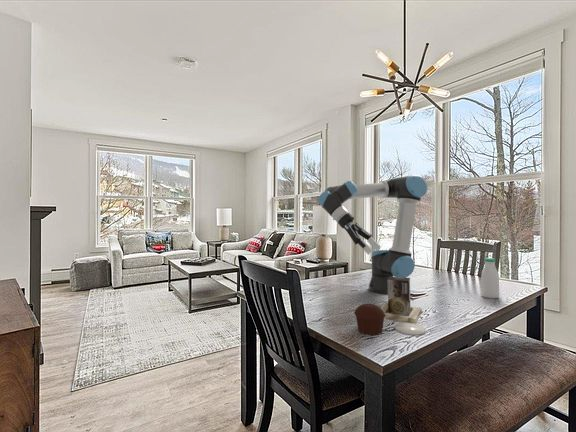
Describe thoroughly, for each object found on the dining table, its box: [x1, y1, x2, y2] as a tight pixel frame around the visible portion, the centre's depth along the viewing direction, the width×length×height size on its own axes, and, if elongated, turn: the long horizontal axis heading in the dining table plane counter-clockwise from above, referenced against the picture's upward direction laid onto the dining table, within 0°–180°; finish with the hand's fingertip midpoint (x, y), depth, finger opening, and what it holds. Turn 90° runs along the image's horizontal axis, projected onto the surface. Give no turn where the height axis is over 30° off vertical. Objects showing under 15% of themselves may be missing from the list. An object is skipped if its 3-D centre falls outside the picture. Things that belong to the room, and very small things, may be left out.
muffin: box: [353, 303, 385, 337], centre depth 119 cm, size 12×11×10 cm
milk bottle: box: [480, 257, 500, 299], centre depth 162 cm, size 8×8×20 cm
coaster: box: [394, 322, 426, 336], centre depth 121 cm, size 11×11×1 cm
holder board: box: [380, 302, 423, 324], centre depth 137 cm, size 16×16×2 cm
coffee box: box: [387, 276, 411, 317], centre depth 137 cm, size 9×6×16 cm
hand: (374, 250), depth 142 cm, fingers open, 13 cm apart
